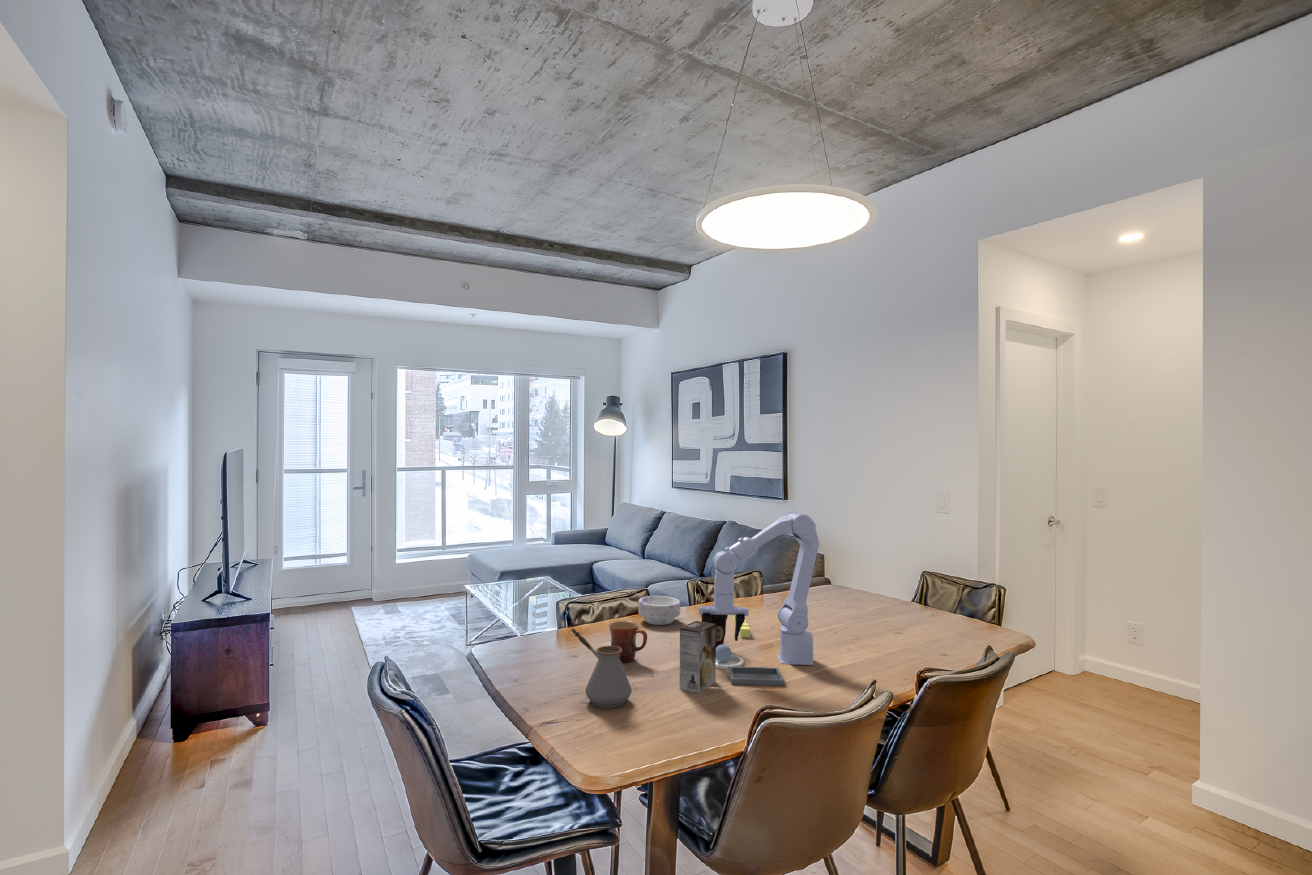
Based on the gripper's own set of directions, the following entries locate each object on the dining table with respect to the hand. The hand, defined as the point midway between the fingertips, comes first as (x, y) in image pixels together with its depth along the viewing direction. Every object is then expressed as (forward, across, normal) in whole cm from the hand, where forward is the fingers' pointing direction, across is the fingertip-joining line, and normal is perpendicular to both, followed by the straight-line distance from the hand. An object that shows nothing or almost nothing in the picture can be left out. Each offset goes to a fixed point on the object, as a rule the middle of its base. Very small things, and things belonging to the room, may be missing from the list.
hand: (723, 639), depth 191 cm
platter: (+8, -11, -39) cm, 41 cm away
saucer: (+7, 0, 0) cm, 7 cm away
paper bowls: (+7, +20, -44) cm, 49 cm away
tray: (+7, -8, +13) cm, 17 cm away
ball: (+7, 0, 0) cm, 7 cm away
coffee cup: (+7, +2, -12) cm, 14 cm away
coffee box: (+7, +8, +19) cm, 22 cm away
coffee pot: (+7, +34, +28) cm, 45 cm away
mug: (+7, +28, 0) cm, 29 cm away
